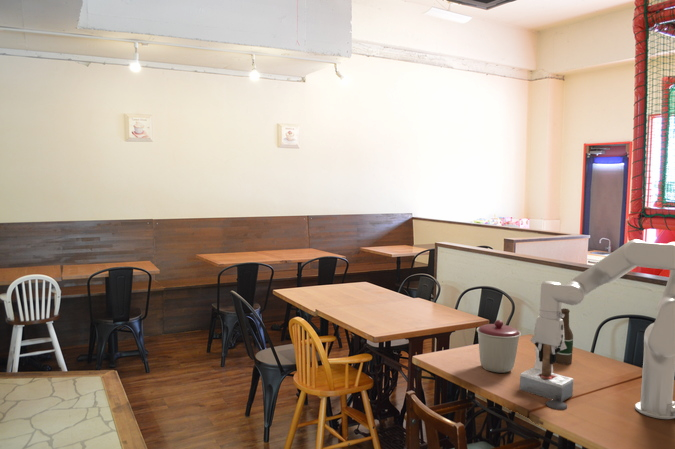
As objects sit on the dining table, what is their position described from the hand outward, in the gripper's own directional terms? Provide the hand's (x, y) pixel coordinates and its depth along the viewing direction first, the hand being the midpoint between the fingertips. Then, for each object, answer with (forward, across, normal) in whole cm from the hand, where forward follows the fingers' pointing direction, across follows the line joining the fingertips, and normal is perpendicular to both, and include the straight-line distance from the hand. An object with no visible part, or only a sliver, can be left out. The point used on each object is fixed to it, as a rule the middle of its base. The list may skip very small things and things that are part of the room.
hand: (547, 361), depth 204 cm
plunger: (+9, 0, 0) cm, 9 cm away
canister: (+12, +26, -10) cm, 30 cm away
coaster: (+12, -8, +9) cm, 17 cm away
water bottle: (+12, +8, -15) cm, 21 cm away
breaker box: (+12, 0, 0) cm, 12 cm away
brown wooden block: (+5, 0, 0) cm, 5 cm away
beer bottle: (+12, +11, -41) cm, 44 cm away
